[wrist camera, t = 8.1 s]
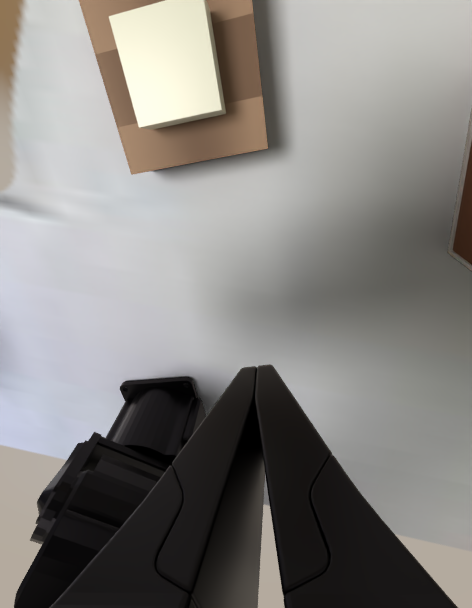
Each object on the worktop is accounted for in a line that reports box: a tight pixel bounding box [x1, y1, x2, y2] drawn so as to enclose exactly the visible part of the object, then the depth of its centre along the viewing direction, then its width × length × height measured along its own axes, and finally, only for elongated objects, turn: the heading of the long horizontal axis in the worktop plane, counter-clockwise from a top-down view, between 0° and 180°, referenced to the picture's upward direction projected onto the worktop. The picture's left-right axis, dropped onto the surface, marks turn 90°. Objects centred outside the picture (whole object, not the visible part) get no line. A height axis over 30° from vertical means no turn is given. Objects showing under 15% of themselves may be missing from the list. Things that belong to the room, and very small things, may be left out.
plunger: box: [109, 0, 226, 130], centre depth 14 cm, size 4×4×5 cm
